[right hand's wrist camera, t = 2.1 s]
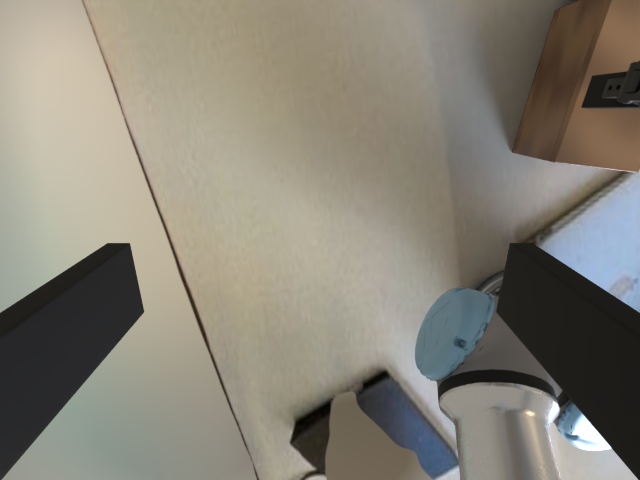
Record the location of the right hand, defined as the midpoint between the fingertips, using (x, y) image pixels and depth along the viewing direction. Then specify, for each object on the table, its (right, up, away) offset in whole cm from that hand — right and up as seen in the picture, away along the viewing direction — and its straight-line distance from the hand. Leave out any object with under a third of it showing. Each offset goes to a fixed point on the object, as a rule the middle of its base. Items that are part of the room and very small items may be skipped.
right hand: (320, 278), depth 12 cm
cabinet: (+34, +22, +35) cm, 53 cm away
